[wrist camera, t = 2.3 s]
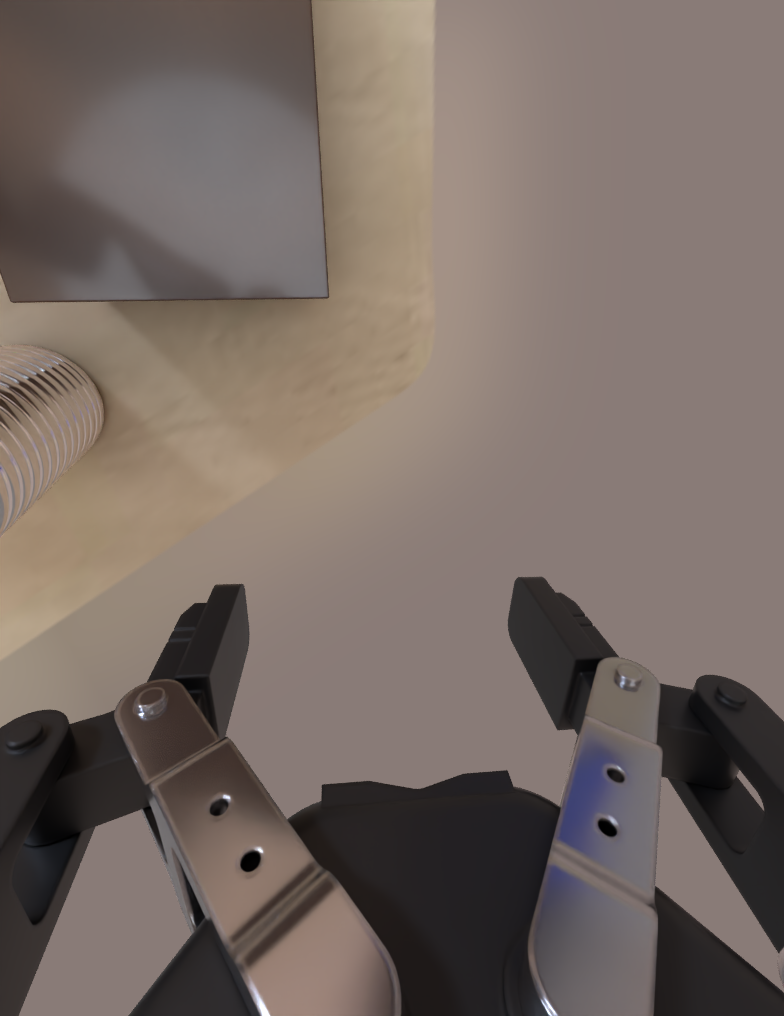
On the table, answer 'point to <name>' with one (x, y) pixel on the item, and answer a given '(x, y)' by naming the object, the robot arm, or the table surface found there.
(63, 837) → the robot arm
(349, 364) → the table surface
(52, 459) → the water bottle
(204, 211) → the cabinet
